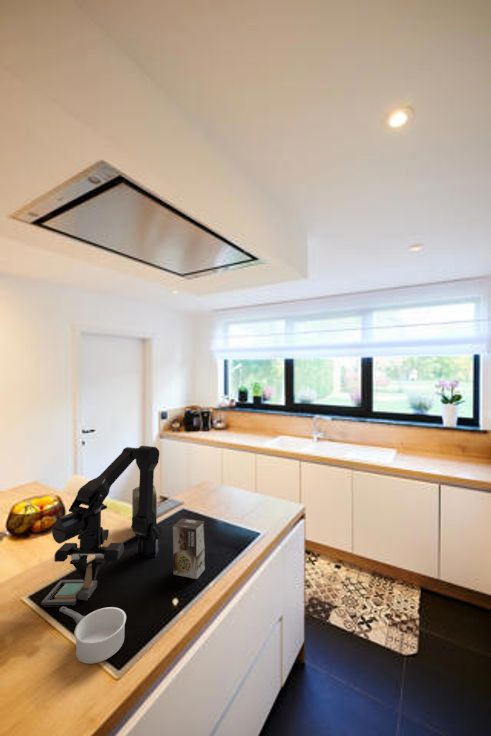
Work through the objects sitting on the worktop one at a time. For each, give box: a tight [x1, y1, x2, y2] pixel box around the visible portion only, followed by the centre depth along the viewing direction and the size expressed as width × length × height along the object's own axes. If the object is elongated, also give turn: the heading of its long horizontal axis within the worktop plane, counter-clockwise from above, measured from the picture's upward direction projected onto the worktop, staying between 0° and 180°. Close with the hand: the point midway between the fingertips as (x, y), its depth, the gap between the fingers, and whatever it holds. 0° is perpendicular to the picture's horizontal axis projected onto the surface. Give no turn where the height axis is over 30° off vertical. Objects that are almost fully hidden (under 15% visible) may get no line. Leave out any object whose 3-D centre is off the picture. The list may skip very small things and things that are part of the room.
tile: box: [53, 583, 84, 600], centre depth 95 cm, size 6×6×2 cm
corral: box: [40, 579, 84, 607], centre depth 95 cm, size 10×10×1 cm
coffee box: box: [172, 517, 206, 580], centre depth 107 cm, size 9×6×16 cm
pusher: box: [77, 563, 98, 601], centre depth 96 cm, size 3×6×8 cm, turn 0°
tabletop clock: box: [131, 484, 158, 520], centre depth 136 cm, size 14×9×25 cm, turn 22°
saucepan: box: [58, 606, 127, 665], centre depth 78 cm, size 12×20×6 cm, turn 66°
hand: (89, 580), depth 96 cm, fingers closed on pusher, 2 cm apart
